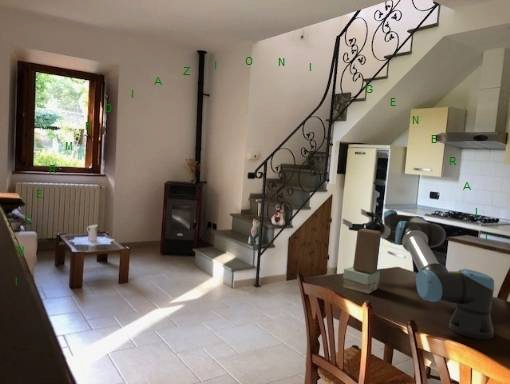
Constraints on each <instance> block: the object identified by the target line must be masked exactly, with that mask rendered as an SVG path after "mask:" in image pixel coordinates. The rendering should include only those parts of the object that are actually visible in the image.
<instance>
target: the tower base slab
mask: <svg viewBox="0 0 510 384" xmlns="http://www.w3.org/2000/svg"><path fill="white" fill-rule="evenodd" d="M379 281H380V280H379ZM379 281H376V282H374V283H371V284H368V285H366V284H362V283H359V282H355V281H352V280H349V279H345V278H343V285H342V287H343V288H346V289H349V290H353V291H356V292H361V293H364V294H370V293H373V292H374V291H376V290H377V289H379Z"/></svg>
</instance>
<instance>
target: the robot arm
mask: <svg viewBox="0 0 510 384" xmlns="http://www.w3.org/2000/svg"><path fill="white" fill-rule="evenodd" d="M397 212H398V211H397V210H395V209H386V210H385V211H384V212H383V219H381V217H380V215H379V213H378V212H374V211H367V210H365V209H363V208H361V209H360V215H362V216H365V217H366V218H368V219H371V221H368V222H365V223H353V222H351V221H349V220H348V219H345V218H342V219H341V220H342V221H341V223H342V224H343V225H345V226H346V227H348V230H349V231H353V232H354V231H355V232H358V230H360V229H369V230H375V231H380V232H381V238H380V239H383V240H385V241H387V242H388V243H390V244H393V245H397V246H402V247H403V249H404V250H405V251H407V252H409V254H410V256H411V258H412V260H413V263H414V264H415V266H416V268H417V270H418V272H417V274H416V277H415V286H416V291H417V294H418V296H419V297H420V299H422V300H424V301H429V302H431V303H432V302H433V303H444V304H456V308H455V310H454V312H453V314H452V315H451V318H450V320H449V323H448V325H449V326H448V327H449V329H450V330H452V331H453V332H455V333H456V334H459V335H461V336H464V337H466V338H472V339H476V340H491V339H493V337H494V326H493V322H492V318H491V314H492V313H491V312H492V305H493V296H494V291H495V280H494V278H493V277H492V276H489V275H487V274H485V273H482V272H480V271H476V270H472V269H467V268H462V269H460V270H461V271H460V272H461V273H453V272H454V271H453V272H449V269H447V267H446V266H445V265H444V264H442V263H440V262H439V261H438V259H437V257H436V256H435V254H434V252H433V250H432V249H431V248H437V247H439V246H440V245H442V244H443V243H444V242H445V240H446V234H447V233H446V230H445V229H444V227H442V226H441V225H439V224H437V223H430V222H428V221H426V220H425V218H424V217H423V216H419V215H406V214H398V213H397ZM375 220H376V221H375Z"/></svg>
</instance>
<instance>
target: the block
mask: <svg viewBox="0 0 510 384" xmlns="http://www.w3.org/2000/svg"><path fill="white" fill-rule="evenodd" d="M356 232H357V233H356V241H355V242H356V243H355V251H354V258H353V264H352V267H353V269H354V270H357V271H362V272H367V273H373V272H375V271H377V268H378V262H379V254H380V246H381V239H382V238H381V232H380V231H375V230H369V229H360V230H358V231H356Z"/></svg>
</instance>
